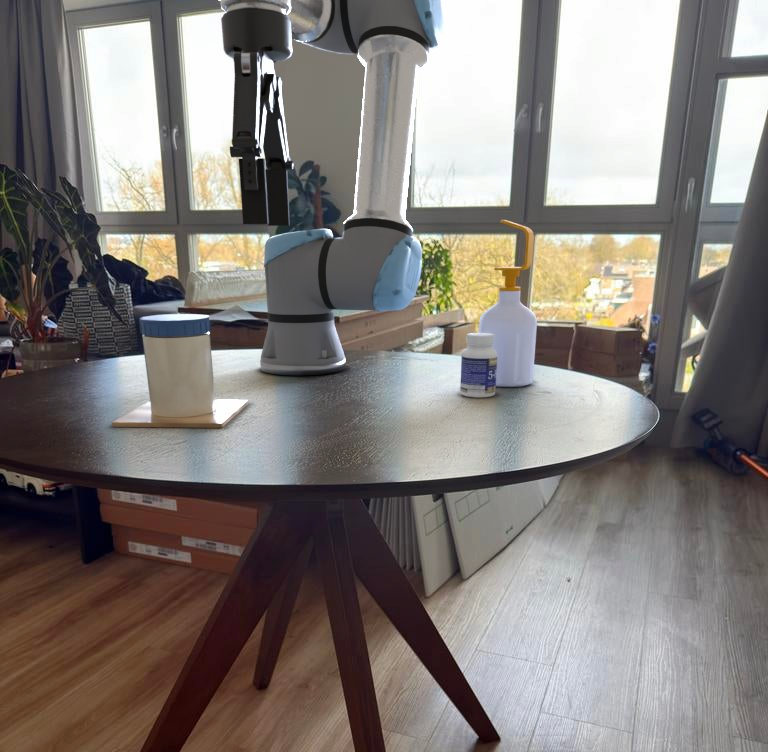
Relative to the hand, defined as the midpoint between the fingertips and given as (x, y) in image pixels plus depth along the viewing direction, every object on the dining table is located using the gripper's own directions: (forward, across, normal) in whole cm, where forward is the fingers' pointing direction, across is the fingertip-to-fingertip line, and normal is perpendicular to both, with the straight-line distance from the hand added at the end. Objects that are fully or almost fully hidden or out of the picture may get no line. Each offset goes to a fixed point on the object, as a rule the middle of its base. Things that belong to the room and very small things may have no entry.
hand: (268, 225), depth 86 cm
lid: (+11, -2, -13) cm, 17 cm away
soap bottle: (+24, -26, +32) cm, 48 cm away
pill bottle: (+24, -16, +27) cm, 40 cm away
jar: (+23, -2, -13) cm, 26 cm away
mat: (+24, -2, -13) cm, 27 cm away
